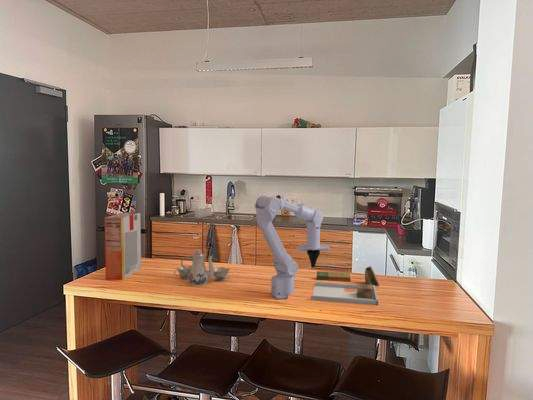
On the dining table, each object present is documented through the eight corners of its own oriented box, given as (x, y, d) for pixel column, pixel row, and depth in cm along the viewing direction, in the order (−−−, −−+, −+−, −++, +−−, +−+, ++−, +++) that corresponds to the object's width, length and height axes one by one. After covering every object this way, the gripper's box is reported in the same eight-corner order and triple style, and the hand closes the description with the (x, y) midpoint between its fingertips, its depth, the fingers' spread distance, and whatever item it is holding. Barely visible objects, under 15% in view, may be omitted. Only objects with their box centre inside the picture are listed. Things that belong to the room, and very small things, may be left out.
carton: (350, 285, 178) (350, 276, 178) (316, 283, 181) (316, 275, 180) (349, 280, 186) (349, 272, 186) (316, 278, 189) (316, 270, 188)
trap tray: (310, 303, 152) (311, 294, 152) (314, 288, 172) (315, 281, 171) (378, 308, 147) (378, 299, 147) (374, 293, 166) (374, 285, 166)
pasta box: (126, 267, 205) (125, 212, 203) (141, 267, 205) (140, 212, 202) (105, 279, 182) (104, 217, 180) (122, 280, 182) (121, 217, 180)
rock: (360, 276, 184) (356, 278, 175) (371, 263, 183) (368, 265, 173) (377, 292, 180) (374, 295, 171) (389, 279, 179) (387, 282, 170)
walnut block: (357, 297, 155) (357, 288, 155) (356, 293, 161) (357, 283, 161) (372, 298, 154) (372, 289, 154) (371, 294, 160) (371, 284, 160)
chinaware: (232, 280, 188) (232, 247, 189) (226, 287, 172) (227, 250, 172) (176, 279, 190) (177, 245, 191) (166, 285, 174) (166, 249, 174)
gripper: (298, 238, 164) (298, 269, 165) (331, 238, 165) (331, 268, 166) (296, 235, 171) (295, 265, 172) (327, 235, 172) (327, 264, 173)
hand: (312, 266), depth 169 cm, fingers closed
